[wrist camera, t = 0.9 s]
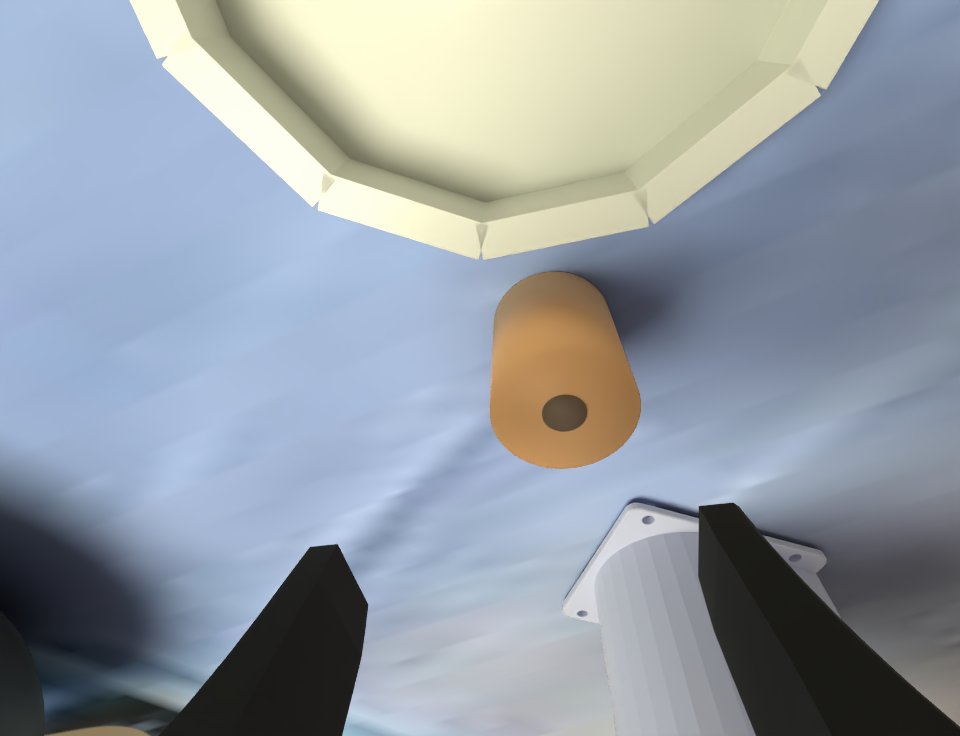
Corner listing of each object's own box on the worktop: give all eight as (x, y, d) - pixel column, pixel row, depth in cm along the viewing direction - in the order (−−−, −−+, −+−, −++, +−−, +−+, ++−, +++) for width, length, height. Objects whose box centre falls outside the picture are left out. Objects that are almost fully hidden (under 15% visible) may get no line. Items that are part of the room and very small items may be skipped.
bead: (629, 291, 18) (668, 374, 13) (582, 386, 20) (603, 484, 16) (515, 255, 17) (518, 330, 13) (479, 356, 19) (471, 448, 15)
